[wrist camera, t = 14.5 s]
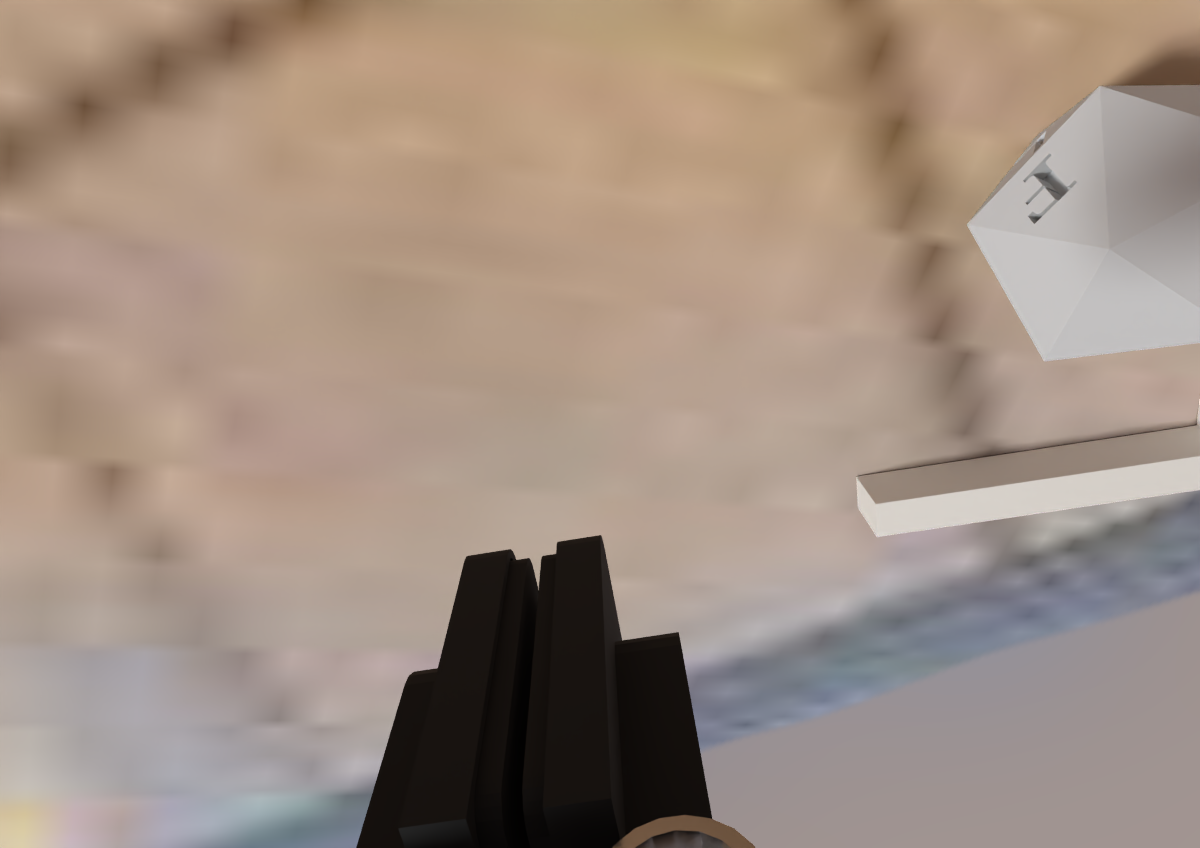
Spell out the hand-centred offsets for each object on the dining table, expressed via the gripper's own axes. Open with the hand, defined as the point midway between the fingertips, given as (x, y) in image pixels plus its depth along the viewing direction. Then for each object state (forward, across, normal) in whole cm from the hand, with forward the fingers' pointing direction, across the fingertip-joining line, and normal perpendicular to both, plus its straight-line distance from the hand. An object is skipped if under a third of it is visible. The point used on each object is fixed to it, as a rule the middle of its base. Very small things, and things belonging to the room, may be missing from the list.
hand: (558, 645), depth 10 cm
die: (+22, -18, +1) cm, 29 cm away
